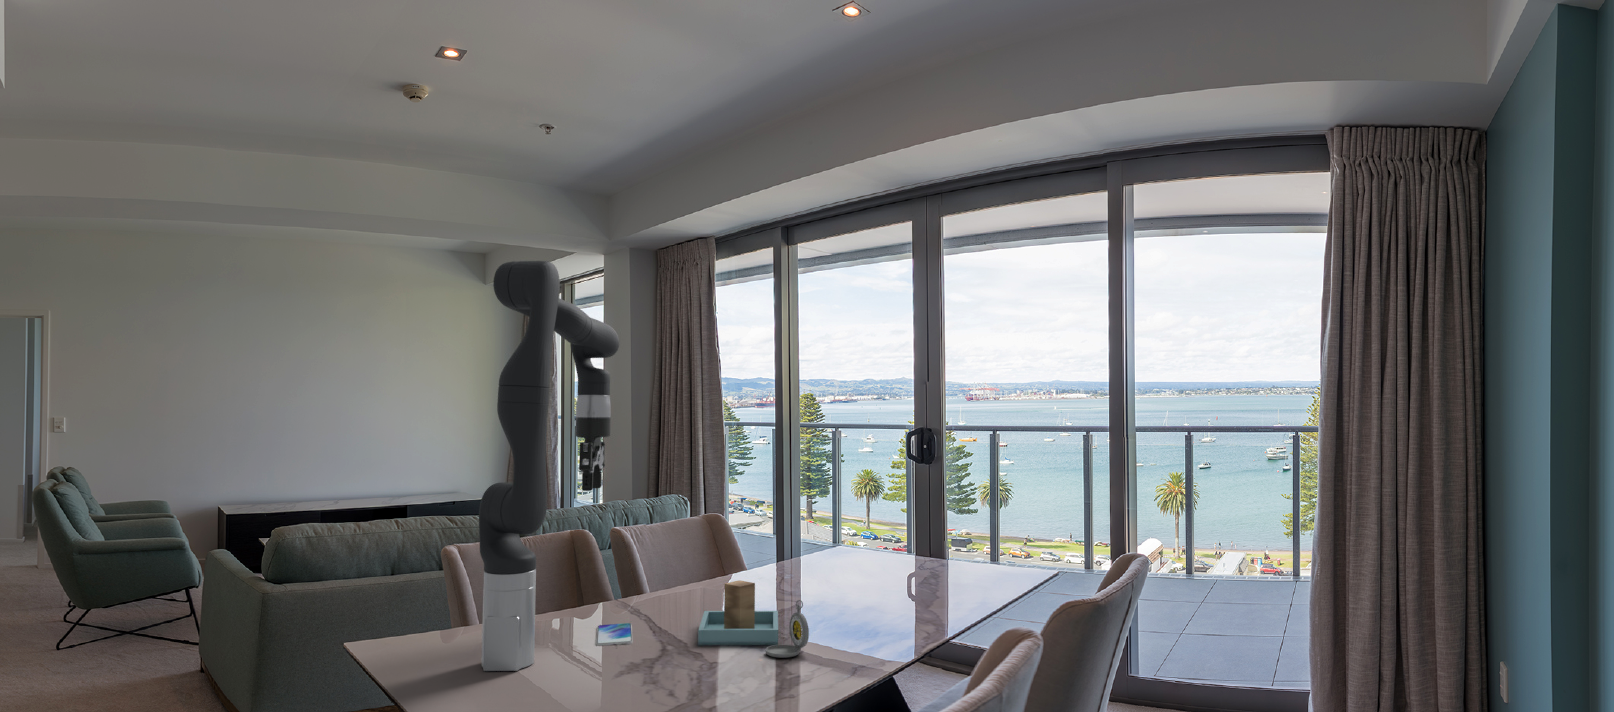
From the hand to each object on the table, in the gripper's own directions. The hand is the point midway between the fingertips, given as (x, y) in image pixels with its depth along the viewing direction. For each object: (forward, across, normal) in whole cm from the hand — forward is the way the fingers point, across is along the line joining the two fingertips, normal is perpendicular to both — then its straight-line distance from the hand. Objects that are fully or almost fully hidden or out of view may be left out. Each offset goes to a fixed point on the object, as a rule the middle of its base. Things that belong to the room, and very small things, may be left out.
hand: (591, 489), depth 194 cm
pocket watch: (+30, -22, -44) cm, 57 cm away
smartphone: (+30, -9, -7) cm, 32 cm away
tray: (+30, -8, -33) cm, 45 cm away
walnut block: (+29, -8, -33) cm, 45 cm away
